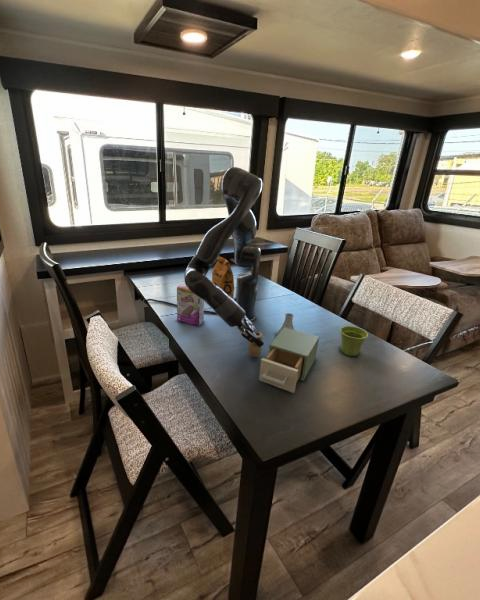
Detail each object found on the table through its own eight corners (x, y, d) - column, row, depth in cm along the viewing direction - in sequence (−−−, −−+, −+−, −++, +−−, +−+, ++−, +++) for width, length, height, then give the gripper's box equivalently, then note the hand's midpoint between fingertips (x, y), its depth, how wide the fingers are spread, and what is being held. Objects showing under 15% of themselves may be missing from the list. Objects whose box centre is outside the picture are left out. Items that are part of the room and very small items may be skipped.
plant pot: (361, 361, 112) (366, 341, 108) (333, 353, 116) (338, 333, 113) (364, 350, 119) (369, 330, 116) (338, 343, 124) (343, 323, 120)
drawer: (288, 402, 90) (292, 380, 87) (252, 388, 96) (254, 367, 93) (306, 370, 105) (309, 351, 102) (274, 360, 110) (276, 341, 107)
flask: (285, 342, 123) (288, 320, 119) (273, 334, 129) (276, 312, 125) (299, 338, 126) (302, 316, 122) (287, 330, 132) (290, 309, 128)
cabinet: (303, 381, 101) (307, 356, 97) (267, 368, 107) (269, 344, 103) (314, 359, 112) (319, 336, 109) (281, 349, 118) (284, 327, 115)
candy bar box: (176, 321, 138) (175, 287, 132) (182, 316, 143) (181, 283, 136) (199, 326, 134) (199, 291, 128) (204, 322, 138) (204, 287, 132)
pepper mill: (245, 354, 113) (247, 332, 109) (251, 348, 116) (253, 327, 113) (257, 358, 110) (259, 336, 107) (262, 352, 114) (264, 330, 110)
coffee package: (218, 305, 155) (220, 263, 147) (209, 296, 166) (210, 256, 157) (236, 302, 159) (238, 261, 150) (226, 294, 169) (228, 254, 161)
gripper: (238, 312, 99) (272, 345, 104) (235, 295, 112) (265, 325, 117) (221, 327, 101) (255, 358, 106) (220, 308, 114) (250, 337, 119)
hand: (260, 341), depth 111 cm, fingers closed on pepper mill, 4 cm apart
